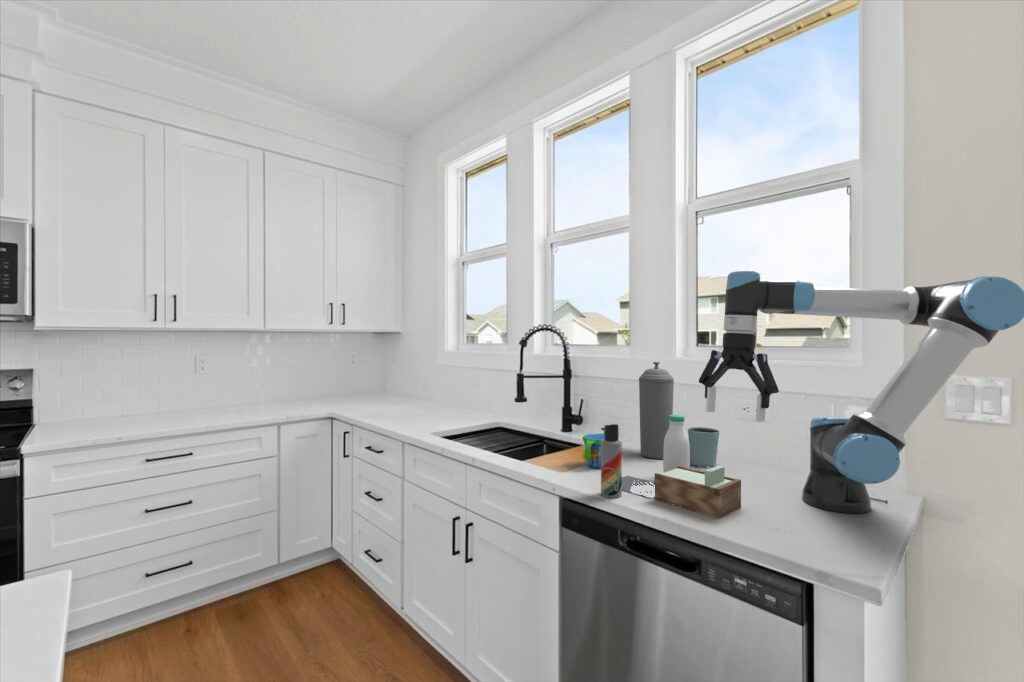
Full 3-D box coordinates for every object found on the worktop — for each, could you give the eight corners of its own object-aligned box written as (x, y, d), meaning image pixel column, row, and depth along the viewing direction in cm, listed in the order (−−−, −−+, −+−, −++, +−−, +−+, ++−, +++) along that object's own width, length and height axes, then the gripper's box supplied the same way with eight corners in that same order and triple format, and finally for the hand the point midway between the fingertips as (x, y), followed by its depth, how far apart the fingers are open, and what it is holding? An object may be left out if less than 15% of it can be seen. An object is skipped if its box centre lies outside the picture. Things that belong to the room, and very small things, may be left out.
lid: (733, 485, 127) (733, 467, 127) (714, 493, 121) (714, 474, 120) (677, 472, 139) (677, 455, 139) (658, 478, 133) (658, 461, 133)
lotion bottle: (609, 499, 132) (609, 426, 132) (596, 493, 137) (597, 423, 137) (625, 496, 135) (626, 424, 135) (612, 490, 140) (612, 421, 140)
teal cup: (682, 460, 174) (683, 427, 173) (709, 459, 175) (709, 426, 175) (696, 468, 164) (696, 432, 163) (725, 467, 165) (725, 432, 164)
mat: (676, 489, 141) (676, 488, 141) (650, 498, 133) (650, 498, 133) (627, 476, 154) (627, 475, 154) (601, 484, 146) (601, 483, 146)
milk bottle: (691, 484, 146) (691, 417, 146) (664, 482, 148) (665, 417, 147) (687, 476, 154) (687, 413, 153) (662, 475, 155) (662, 413, 155)
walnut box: (741, 507, 126) (741, 480, 126) (718, 518, 119) (718, 489, 119) (678, 490, 140) (678, 465, 140) (654, 499, 132) (654, 473, 132)
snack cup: (599, 459, 175) (599, 431, 175) (624, 464, 168) (624, 435, 168) (572, 467, 164) (572, 437, 164) (597, 473, 157) (597, 442, 157)
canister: (650, 450, 189) (650, 360, 189) (680, 456, 180) (680, 361, 179) (631, 455, 181) (631, 361, 180) (662, 462, 171) (662, 363, 171)
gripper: (688, 330, 131) (683, 408, 131) (781, 333, 110) (775, 426, 111) (705, 331, 135) (700, 407, 136) (798, 335, 114) (792, 424, 115)
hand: (734, 416), depth 123 cm, fingers open, 13 cm apart
